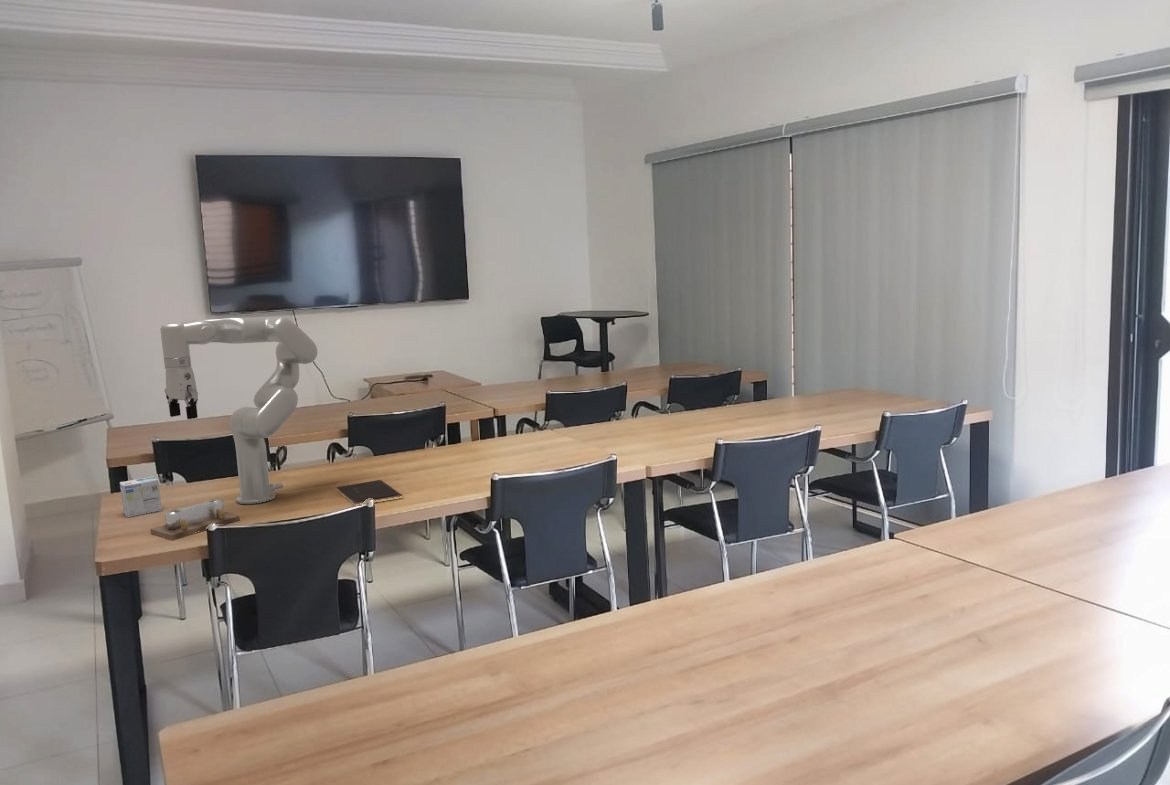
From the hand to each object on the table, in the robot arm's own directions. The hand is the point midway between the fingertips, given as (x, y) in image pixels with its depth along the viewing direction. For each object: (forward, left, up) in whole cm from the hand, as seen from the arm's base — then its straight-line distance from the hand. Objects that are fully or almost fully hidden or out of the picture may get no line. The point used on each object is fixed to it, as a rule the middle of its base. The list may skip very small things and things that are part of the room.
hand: (183, 417), depth 276 cm
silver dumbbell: (+6, +11, -31) cm, 33 cm away
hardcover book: (-45, +31, -33) cm, 64 cm away
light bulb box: (+6, -21, -32) cm, 39 cm away
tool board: (+6, +11, -32) cm, 35 cm away
